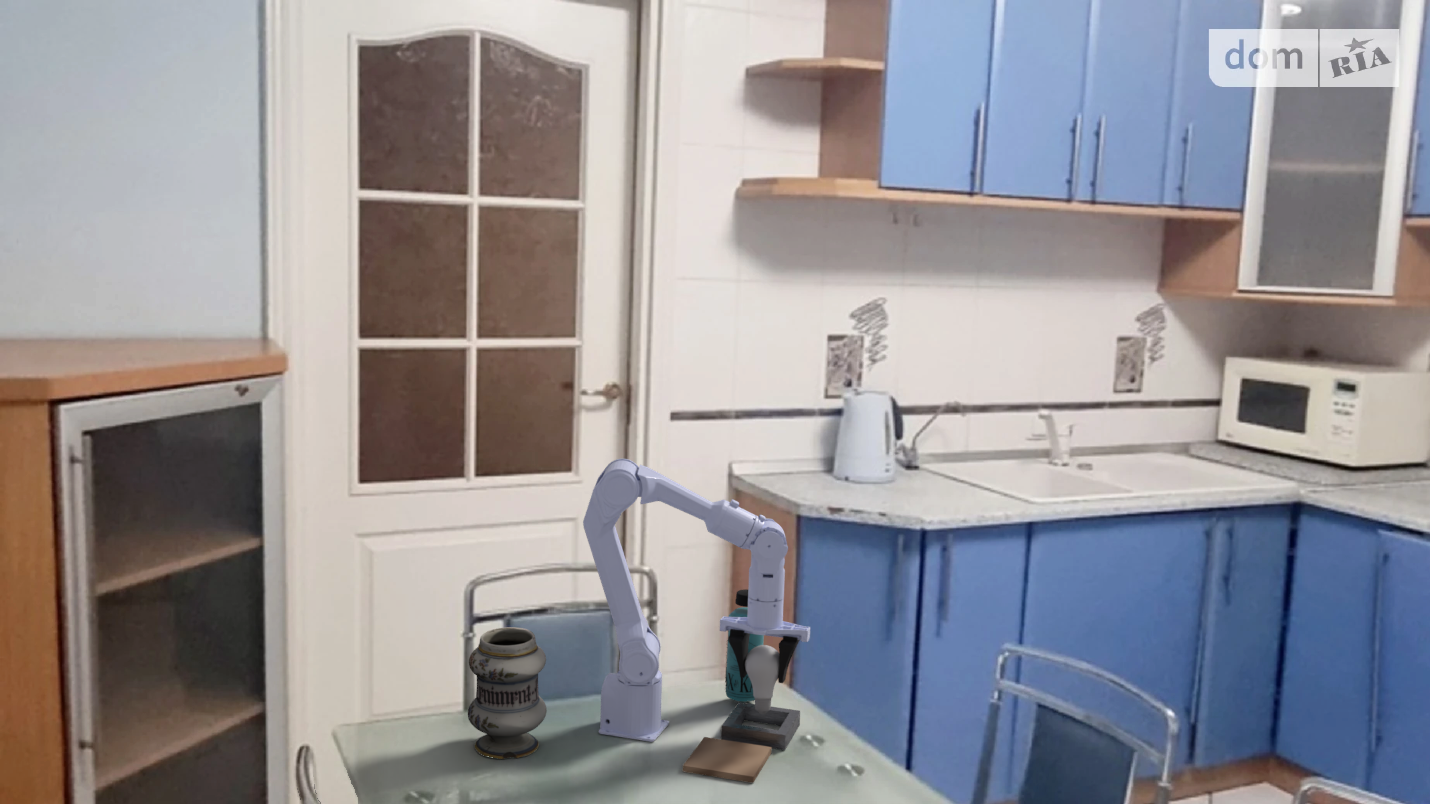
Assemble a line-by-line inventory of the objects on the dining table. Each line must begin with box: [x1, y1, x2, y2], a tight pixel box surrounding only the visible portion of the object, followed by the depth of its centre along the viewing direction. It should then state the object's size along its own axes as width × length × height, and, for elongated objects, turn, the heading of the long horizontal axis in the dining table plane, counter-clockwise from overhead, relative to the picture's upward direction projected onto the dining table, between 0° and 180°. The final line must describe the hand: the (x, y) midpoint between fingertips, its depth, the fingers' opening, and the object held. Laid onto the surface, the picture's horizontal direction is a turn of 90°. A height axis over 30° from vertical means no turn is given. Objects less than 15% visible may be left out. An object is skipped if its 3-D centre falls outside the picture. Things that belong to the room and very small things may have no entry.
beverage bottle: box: [724, 588, 765, 703], centre depth 206 cm, size 6×7×20 cm
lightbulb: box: [745, 644, 780, 714], centre depth 194 cm, size 6×6×11 cm
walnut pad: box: [682, 736, 772, 784], centre depth 184 cm, size 11×11×1 cm
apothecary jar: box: [467, 626, 547, 760], centre depth 186 cm, size 12×12×18 cm
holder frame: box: [720, 701, 801, 751], centre depth 195 cm, size 10×10×2 cm
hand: (762, 678), depth 194 cm, fingers closed on lightbulb, 6 cm apart
